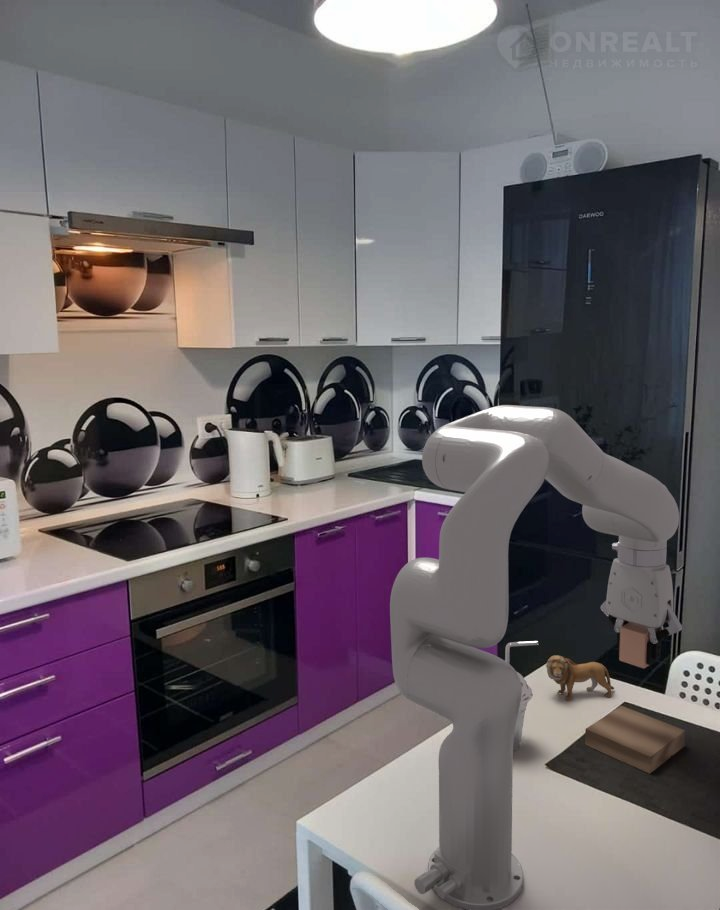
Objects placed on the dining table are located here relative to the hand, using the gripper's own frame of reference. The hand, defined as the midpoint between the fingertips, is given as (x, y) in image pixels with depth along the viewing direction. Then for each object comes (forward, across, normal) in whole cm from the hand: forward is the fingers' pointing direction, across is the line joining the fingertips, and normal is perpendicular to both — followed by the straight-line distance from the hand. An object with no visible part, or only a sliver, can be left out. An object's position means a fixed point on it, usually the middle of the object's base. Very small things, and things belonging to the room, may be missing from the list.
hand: (638, 656), depth 127 cm
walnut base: (+16, 0, 0) cm, 16 cm away
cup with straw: (+17, -15, -16) cm, 28 cm away
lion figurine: (+17, -17, +8) cm, 25 cm away
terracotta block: (+1, 0, 0) cm, 1 cm away
